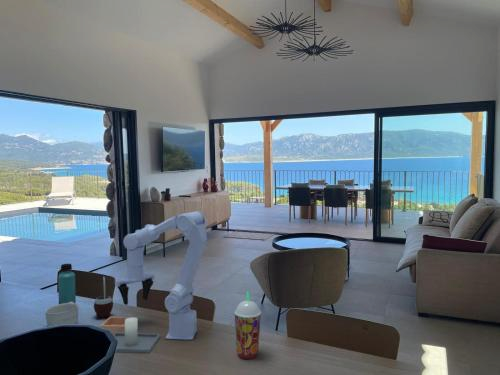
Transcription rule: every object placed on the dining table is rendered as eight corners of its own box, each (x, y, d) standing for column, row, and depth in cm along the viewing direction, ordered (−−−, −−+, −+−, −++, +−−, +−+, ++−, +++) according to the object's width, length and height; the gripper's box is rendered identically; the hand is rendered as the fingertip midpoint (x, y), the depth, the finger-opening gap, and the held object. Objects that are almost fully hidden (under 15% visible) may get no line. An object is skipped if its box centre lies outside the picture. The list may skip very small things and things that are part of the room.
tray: (160, 338, 132) (160, 333, 132) (149, 354, 120) (149, 349, 120) (115, 336, 133) (115, 332, 133) (99, 352, 121) (99, 348, 121)
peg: (139, 340, 128) (139, 317, 128) (134, 346, 124) (134, 322, 124) (127, 340, 128) (127, 317, 128) (122, 345, 124) (122, 321, 124)
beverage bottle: (79, 311, 156) (78, 263, 156) (64, 316, 151) (63, 266, 150) (70, 308, 160) (69, 261, 159) (54, 313, 154) (54, 264, 154)
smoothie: (235, 348, 124) (235, 287, 123) (260, 348, 124) (261, 288, 123) (233, 361, 116) (233, 296, 115) (260, 361, 116) (261, 296, 115)
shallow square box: (132, 325, 143) (132, 317, 143) (123, 334, 134) (123, 326, 134) (110, 324, 143) (110, 316, 143) (99, 334, 135) (99, 325, 135)
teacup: (65, 336, 133) (65, 313, 133) (38, 333, 135) (38, 311, 135) (89, 321, 147) (89, 300, 146) (65, 318, 149) (64, 298, 149)
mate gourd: (102, 322, 145) (101, 283, 145) (88, 318, 149) (88, 280, 149) (117, 316, 152) (117, 279, 151) (104, 312, 156) (104, 276, 155)
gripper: (148, 260, 148) (148, 294, 149) (111, 266, 139) (112, 303, 139) (157, 263, 143) (157, 299, 144) (119, 270, 133) (119, 308, 134)
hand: (135, 301), depth 141 cm, fingers open, 7 cm apart
